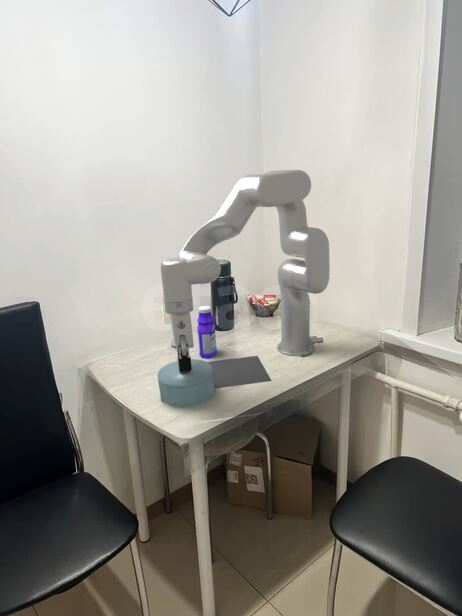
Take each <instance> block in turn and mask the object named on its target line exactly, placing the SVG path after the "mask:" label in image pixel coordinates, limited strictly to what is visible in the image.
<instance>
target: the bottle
mask: <svg viewBox="0 0 462 616" xmlns="http://www.w3.org/2000/svg"><path fill="white" fill-rule="evenodd" d="M214 321H215V318H214V316H213V315H212V307H211V306H209V305H203V306H202V305H201V306H199V307H198V318H197V319H196V322H197V329H196V330H197V341H198V352H199V357H200V358H203V359H211V358H213V357H215V356H216V354H217V351H218V349H217V339H216V338H217V337H216V326H215V322H214Z"/></svg>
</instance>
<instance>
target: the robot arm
mask: <svg viewBox="0 0 462 616" xmlns="http://www.w3.org/2000/svg"><path fill="white" fill-rule="evenodd" d="M311 188H312V181H311V177H310V176H309V174H308V173H307V172H305V170H304V171H303V170H301V169H287V170H286V169H285V170H283V169H282V170H280V169H279V170H271V171H266V172H264V173H263V174H246V175H242V176H241V177H239V179H237V180H236V181H235V183H234V185H233V186H232V188H231V190H230V191H229V193H228V194H227V196H226V198H224V199H225V200H224V201H223V202H222V204H221V205H220V207H219V209H218V210H217V211H216V213H215V214H214V215H213V217H212V218H211V219H209V220H207V221H206V222H205V223H204V224H203V225H202V226H200V227H199V228H198V229H197V230H195V232H193V233H192V234H191V236H190V237H189V238H188V239H187V241H186V242H185V244H184V245H183V246H182V249H181V250H180V252H179V253H178V256H177V257H173V258H168V259H167V258H166V259H164V260H163V261H162V262H161V263H160V274H161V284H162V292H163V302H164V311H165V313H166V314H167V315H169V317H170V323H171V324H170V325H171V332H172V337H173V339H174V342H175V346H176V347H175V348H176V349H177V350H176V352H177V357H178V356H179V358H178V359H179V369H180V372H185V371H191V370H192V367H191V359H192V357H191V355H190V348H191V349H193V348H194V345H195V344H194V335H193V327H192V326H193V325H192V316H191V313H192V312H193V311H194V300H193V298H194V297H193V288H192V287H193V285H204V284H205V285H206V284H210V283H213V282H215V281H216V280H217V279H218V278H219V276H220V275H221V271H222V266H221V263H220V261H219V260H218V259H217V258H216V257H214V256H211V255H208V253H209V251H210V250H212V249H213V248H214V247H216V246H217V245H219V244H221V243H223V242H224V241H228V240H231V239H233V238H235V237H237V236H239V235H240V234H241V233H242V231H243V230H244V228H245V226H247V223H248V221H249V220H250V219H251V217H252V215H253V213H254V212H255V210H256V209H257V208H273V207H274V208H276V210H277V214H278V223H279V224H278V225H279V242H280V243H279V244H280V247H281V251H282V252H283V253H284V254H285V255H287V256H290V257H291V256H292V257H296V258H289V259H286V260H284V261H283V262H281V264H279V267H278V269H277V281H278V286H279V290H280V291H279V292H280V306H281V307H280V310H281V311H280V312H281V313H280V315H281V316H280V317H281V320H280V321H281V323H280V324H281V325H280V326H281V341H280V342H279V343H278V344H277V347H276V349H277V352H279V353H280V354H281V355H285V356H289V357H305V356H308V355H311V354H313V352H314V351H315V347H314V345H315V344H323V343H324V338H323V336H322V337H318V336H317V335H312V336H310V335H311V334H310V327H311V326H310V325H311V323H310V322H311V321H310V320H311V319H310V318H311V317H310V316H311V300H310V295H309V293H310V294H315V295H316V294H321V293H323V292H324V291H325V290H326V289H327V287H328V285H329V281H330V275H331V273H330V270H331V269H330V241H329V238H328V235H327V233H326V232H325V231H324V230H323V229H320V228H317V227H309V226H308V219H307V208H306V205H305V203H304V200H305V199H306V198H307V197H308V196H309V195H310V192H311V190H312V189H311ZM297 258H302V259H297ZM178 359H177V360H178Z"/></svg>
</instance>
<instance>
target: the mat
mask: <svg viewBox="0 0 462 616" xmlns="http://www.w3.org/2000/svg"><path fill="white" fill-rule="evenodd" d="M207 362H208V363H209V364H210V365H211V366H212V372H213V380H214V389H220V388H228V387H237V386H243V385H251V384H258V383H259V384H260V383H266V382H272V381H273V380H272V378H271V377H270V375H269V373H268V371H267V370H266V368H265V366H264V364H263V362H262V361H261V359H260V358H259V356H258V355H253V356H252V355H251V356H244V357H237V358H227V359H219V360H213V361H212V360H211V361H207Z"/></svg>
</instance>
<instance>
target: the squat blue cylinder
mask: <svg viewBox="0 0 462 616" xmlns="http://www.w3.org/2000/svg"><path fill="white" fill-rule="evenodd" d="M176 358H177V360H176V361H173V362H170V363H168V364H166V365H164V366H163V367H161V368H160V369H159V370H158V373H157V381H158V388H159V394H160V400H161V402H163V403H165V404H166V405H169V406H175V407H179V408H184V407H193V406H197V405H200V404H202V403H205V402H207V401H208V400H210V399H211V397H212V396H213V395H214V393H215V391H216V390H215V389H216V388H215V389H214V380H213V372H212V366H211V365H210V364H209V363H208V362H209V361H205V360H202V359H196V358H195V359H194V358H191V367H192V370H191V371H185V372H180V369H179V359H178V358H179V356H178V355H177V357H176Z"/></svg>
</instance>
